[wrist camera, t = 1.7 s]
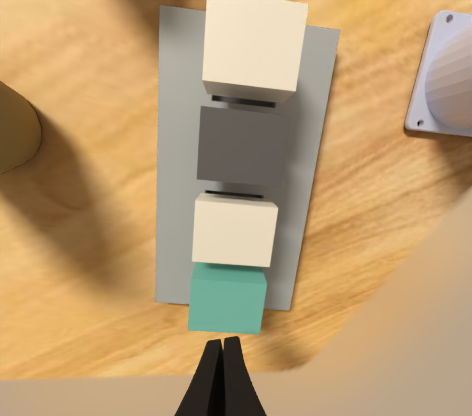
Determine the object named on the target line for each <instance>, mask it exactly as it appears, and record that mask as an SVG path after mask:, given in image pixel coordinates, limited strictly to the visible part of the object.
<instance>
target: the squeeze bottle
mask: <svg viewBox="0 0 472 416" xmlns="http://www.w3.org/2000/svg"><path fill="white" fill-rule="evenodd" d="M40 144H41V125H40V123H39V120H38V117H37V114H36V112H35V110H34V109H33V108H32V107H31V105H30V104H29V103H28V102H27V100H26V99H25V98H24V97H23V96H21V95H20V94H19V93H17V92H16V91H14V90H13V89H11V88H10V87H8V86H7V85H5V84H4V83H3V82H1V81H0V174H2V173H5V172H7V171H9V170H11V169H13V168H15V167H17V166H19V165H22V164H24V163H25V162H27V161H28V160H29V159H31V158H32V157H33V156H35V154H36V152H37V150H38V148H39V146H40Z"/></svg>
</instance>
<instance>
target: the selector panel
mask: <svg viewBox="0 0 472 416" xmlns="http://www.w3.org/2000/svg"><path fill="white" fill-rule="evenodd" d="M205 22H206V11H201V10H194V9H187V8H180V7H173V6H166V5H160V8H159V75H158V142H157V209H156V276H155V302H160V303H176V304H189V302H190V285H191V277H192V274H193V270H194V267H195V264H196V262H192V250H193V232H194V215H195V200H196V199H197V198H198V196H199V195H200V193H208V194H219V195H229V196H240V197H251V198H262V199H270V200H271V201H272V202H273V203H274V204H275V205H276V206H277V207H278V214H277V221H276V227H275V234H274V241H273V247H272V254H271V261H270V267H262V269H263V273H264V276H265V279H266V283H267V288H266V295H265V301H264V308H263V309H273V310H290V305H291V299H292V294H293V288H294V283H295V277H296V272H297V266H298V261H299V255H300V250H301V244H302V239H303V233H304V228H305V222H306V217H307V211H308V206H309V200H310V195H311V189H312V184H313V178H314V172H315V167H316V161H317V156H318V150H319V145H320V139H321V134H322V128H323V123H324V117H325V112H326V106H327V101H328V95H329V90H330V84H331V79H332V73H333V68H334V62H335V57H336V51H337V46H338V40H339V35H340V30H338V29H330V28H323V27H316V26H309V25H305V32H304V39H303V46H302V52H301V59H300V66H299V73H298V79H297V86H296V92H295V93H293V94H292V95H291V96H290V97H289V98H288V99H287V100H286V101H285V102H284V103H277V102H268V101H260V100H251V99H243V98H234V97H226V96H217V95H209V94H207V93H206V90H205V87H204V84H203V81H202V74H203V57H204V39H205ZM201 106H207V107H216V108H225V109H233V110H242V111H251V112H259V113H268V114H277V115H286V116H292V120H291V126H290V133H289V140H288V147H287V153H286V160H285V167H284V173H283V180H282V187H271V186H260V185H250V184H239V183H229V182H218V181H208V180H197V162H198V145H199V127H200V110H201Z"/></svg>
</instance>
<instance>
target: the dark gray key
mask: <svg viewBox="0 0 472 416" xmlns="http://www.w3.org/2000/svg"><path fill="white" fill-rule="evenodd" d="M291 120H292V116H286V115H277V114H268V113H259V112H251V111H242V110H233V109H225V108H216V107H207V106H201V110H200V127H199V145H198V162H197V180H208V181H218V182H229V183H239V184H250V185H260V186H271V187H282V180H283V173H284V167H285V160H286V153H287V147H288V140H289V133H290V126H291Z"/></svg>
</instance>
